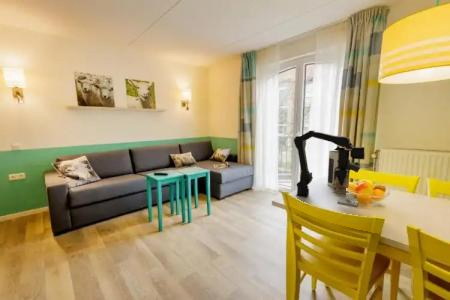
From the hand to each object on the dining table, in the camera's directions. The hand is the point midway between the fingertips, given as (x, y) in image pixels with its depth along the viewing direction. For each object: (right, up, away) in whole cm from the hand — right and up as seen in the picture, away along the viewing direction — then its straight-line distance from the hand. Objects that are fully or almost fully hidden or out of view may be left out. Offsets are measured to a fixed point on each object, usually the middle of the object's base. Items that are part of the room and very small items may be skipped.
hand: (342, 184), depth 126 cm
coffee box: (+10, -9, +20) cm, 24 cm away
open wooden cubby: (0, -1, 0) cm, 1 cm away
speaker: (+13, -7, +34) cm, 37 cm away
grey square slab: (+4, -11, +2) cm, 12 cm away
